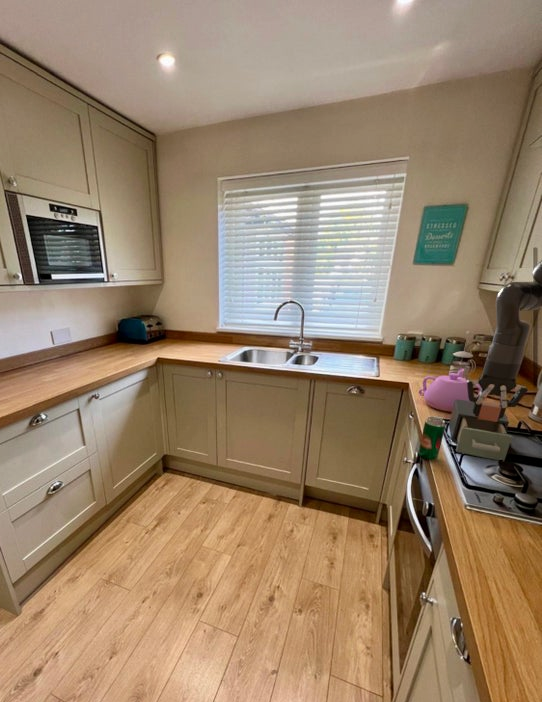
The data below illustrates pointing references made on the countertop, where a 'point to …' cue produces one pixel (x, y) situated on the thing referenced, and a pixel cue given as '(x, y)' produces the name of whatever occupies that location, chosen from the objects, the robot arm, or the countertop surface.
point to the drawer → (482, 438)
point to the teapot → (446, 390)
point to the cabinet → (465, 410)
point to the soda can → (431, 438)
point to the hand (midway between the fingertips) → (486, 416)
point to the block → (489, 411)
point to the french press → (460, 364)
